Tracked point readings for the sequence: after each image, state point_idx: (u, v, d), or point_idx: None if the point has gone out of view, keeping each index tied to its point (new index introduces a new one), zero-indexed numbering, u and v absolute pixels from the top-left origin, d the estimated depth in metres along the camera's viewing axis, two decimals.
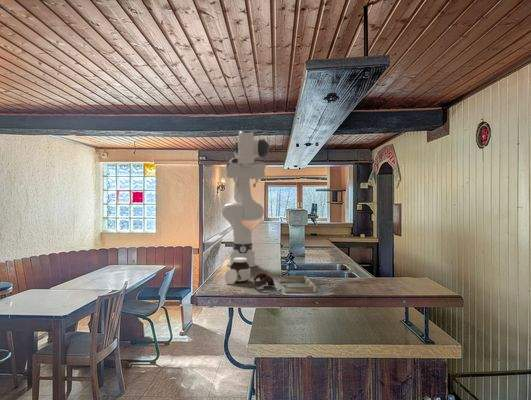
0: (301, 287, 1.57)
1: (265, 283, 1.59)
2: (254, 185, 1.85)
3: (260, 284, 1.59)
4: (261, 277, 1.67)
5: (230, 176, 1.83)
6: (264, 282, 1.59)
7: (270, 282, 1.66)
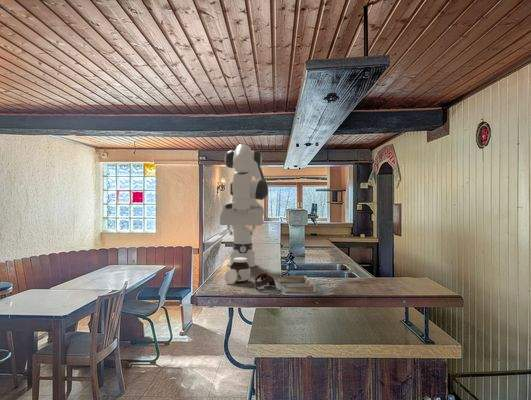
0: (301, 287, 1.57)
1: (266, 283, 1.59)
2: (251, 233, 1.63)
3: (261, 284, 1.59)
4: (262, 277, 1.67)
5: (223, 223, 1.61)
6: (265, 282, 1.59)
7: (271, 282, 1.66)
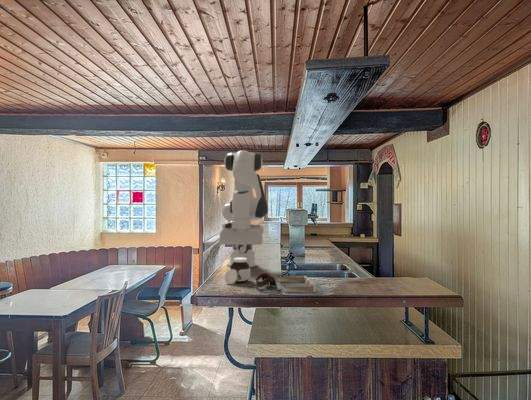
0: (301, 287, 1.57)
1: (267, 283, 1.58)
2: (242, 252, 1.62)
3: (262, 284, 1.59)
4: (263, 277, 1.66)
5: (223, 243, 1.60)
6: (266, 282, 1.59)
7: (272, 282, 1.66)
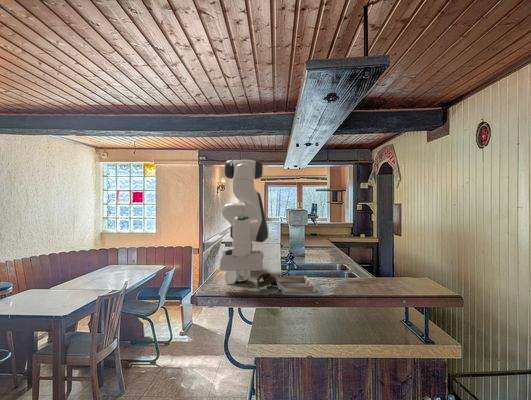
0: (301, 287, 1.57)
1: (268, 283, 1.58)
2: (242, 278, 1.63)
3: (263, 284, 1.59)
4: (264, 277, 1.66)
5: (223, 269, 1.61)
6: (267, 282, 1.59)
7: (273, 282, 1.66)
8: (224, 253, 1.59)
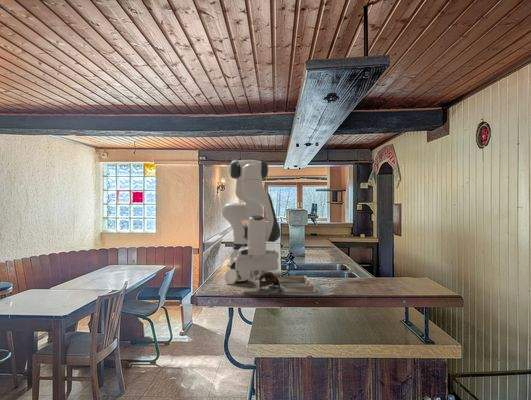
0: (301, 287, 1.57)
1: (271, 283, 1.58)
2: (257, 278, 1.63)
3: (266, 284, 1.58)
4: (266, 277, 1.66)
5: (239, 269, 1.61)
6: (270, 282, 1.58)
7: (275, 282, 1.66)
8: (240, 253, 1.60)
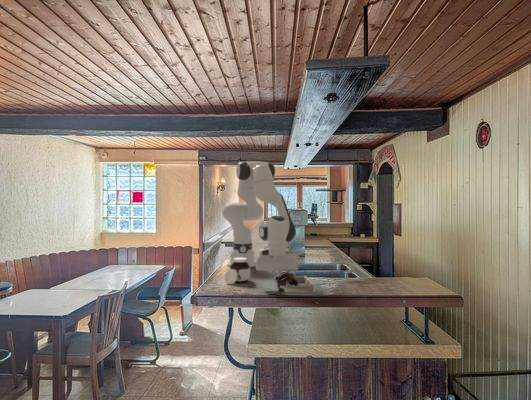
0: (301, 287, 1.57)
1: (284, 283, 1.58)
2: (277, 278, 1.64)
3: (280, 284, 1.59)
4: None
5: (260, 269, 1.63)
6: (284, 282, 1.58)
7: (295, 283, 1.63)
8: (261, 253, 1.61)
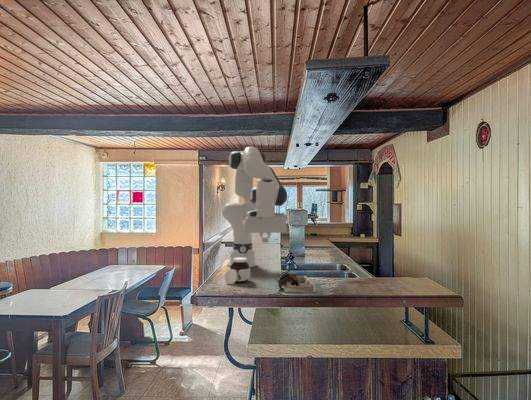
0: (301, 287, 1.57)
1: (285, 284, 1.58)
2: (266, 240, 1.64)
3: (281, 284, 1.59)
4: None
5: (248, 231, 1.62)
6: (284, 283, 1.58)
7: (297, 284, 1.63)
8: (249, 214, 1.60)
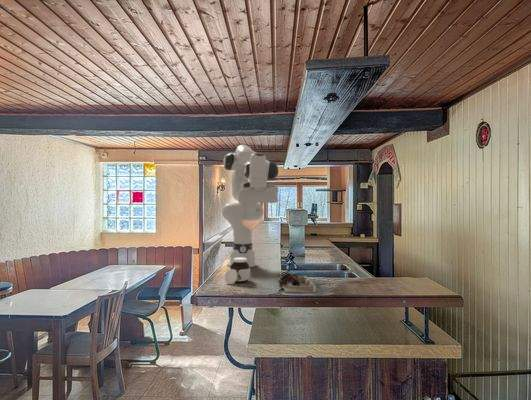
0: (301, 287, 1.57)
1: (286, 284, 1.58)
2: (259, 210, 1.78)
3: (281, 284, 1.59)
4: None
5: (242, 201, 1.76)
6: (285, 282, 1.58)
7: (298, 284, 1.63)
8: (242, 185, 1.75)
